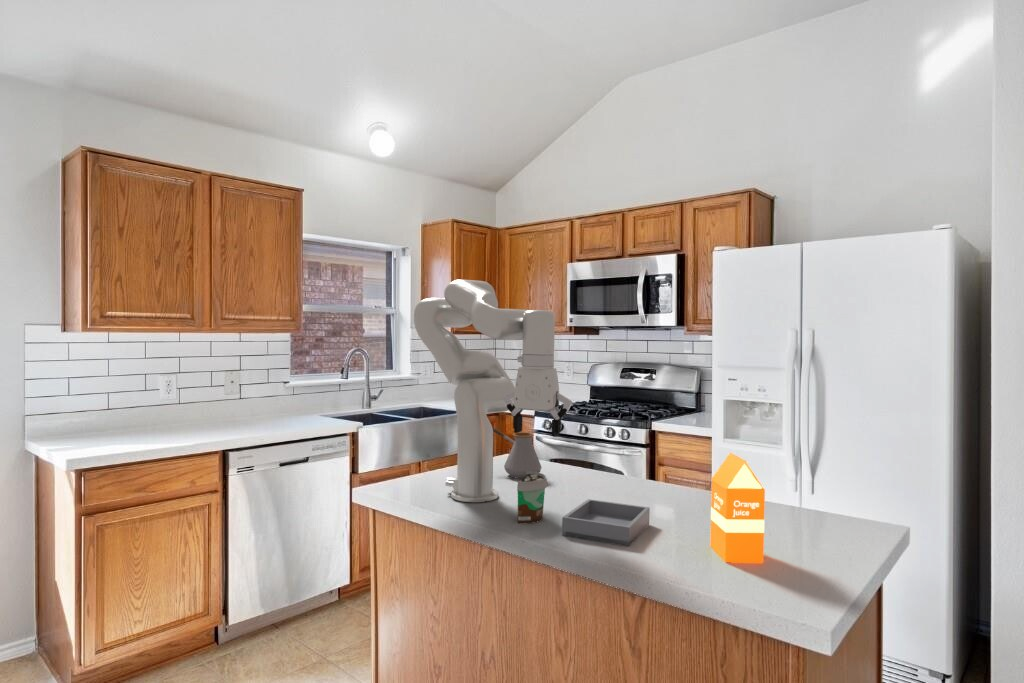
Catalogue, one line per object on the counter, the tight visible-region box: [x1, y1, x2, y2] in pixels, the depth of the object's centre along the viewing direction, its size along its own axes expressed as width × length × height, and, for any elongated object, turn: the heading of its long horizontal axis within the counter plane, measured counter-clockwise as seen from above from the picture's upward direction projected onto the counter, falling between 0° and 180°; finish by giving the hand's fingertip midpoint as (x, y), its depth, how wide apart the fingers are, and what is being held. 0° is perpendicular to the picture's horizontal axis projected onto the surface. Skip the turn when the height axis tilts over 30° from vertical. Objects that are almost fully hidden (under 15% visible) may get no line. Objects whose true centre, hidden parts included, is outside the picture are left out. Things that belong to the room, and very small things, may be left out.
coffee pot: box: [492, 426, 542, 479], centre depth 198 cm, size 21×12×15 cm, turn 55°
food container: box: [516, 471, 549, 524], centre depth 151 cm, size 12×6×10 cm, turn 168°
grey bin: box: [561, 498, 651, 547], centre depth 143 cm, size 15×17×4 cm
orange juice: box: [709, 452, 766, 564], centre depth 128 cm, size 8×9×20 cm
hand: (536, 433), depth 151 cm, fingers open, 9 cm apart
